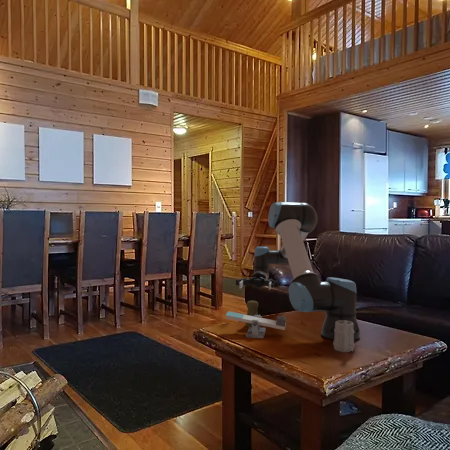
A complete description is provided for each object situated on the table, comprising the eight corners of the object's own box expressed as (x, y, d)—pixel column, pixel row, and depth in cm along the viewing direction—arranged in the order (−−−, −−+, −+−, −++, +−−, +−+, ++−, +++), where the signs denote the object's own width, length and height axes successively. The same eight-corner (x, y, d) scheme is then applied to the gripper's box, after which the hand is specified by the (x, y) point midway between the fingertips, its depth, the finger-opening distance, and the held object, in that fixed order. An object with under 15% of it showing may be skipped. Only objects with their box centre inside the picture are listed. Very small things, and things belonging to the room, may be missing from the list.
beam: (285, 325, 175) (287, 317, 175) (284, 330, 168) (286, 321, 168) (227, 314, 180) (229, 305, 179) (224, 318, 173) (226, 309, 173)
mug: (353, 346, 158) (354, 314, 158) (357, 357, 147) (357, 322, 146) (332, 345, 160) (332, 313, 159) (334, 355, 148) (335, 321, 148)
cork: (261, 326, 186) (262, 301, 185) (251, 328, 182) (251, 302, 182) (253, 323, 191) (253, 299, 190) (242, 325, 187) (242, 300, 187)
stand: (265, 330, 179) (266, 314, 179) (263, 338, 168) (263, 321, 167) (249, 329, 181) (249, 313, 180) (245, 337, 169) (246, 320, 169)
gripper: (283, 287, 215) (281, 295, 194) (235, 285, 219) (228, 293, 198) (284, 272, 215) (282, 279, 194) (235, 270, 219) (228, 277, 198)
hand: (254, 286), depth 196 cm, fingers open, 13 cm apart
